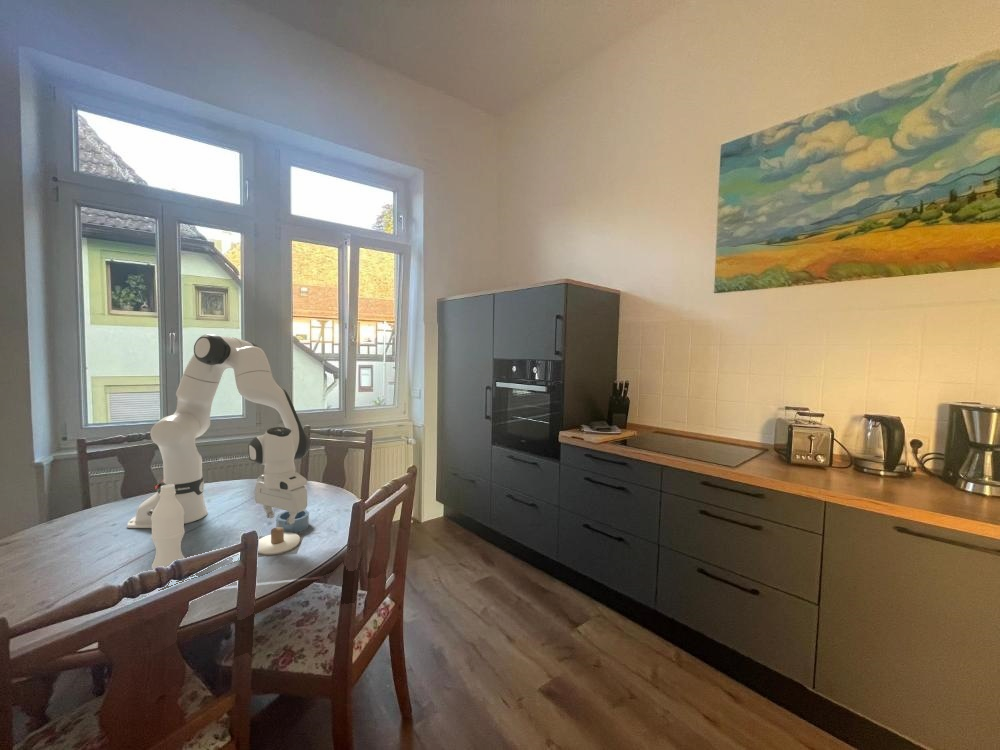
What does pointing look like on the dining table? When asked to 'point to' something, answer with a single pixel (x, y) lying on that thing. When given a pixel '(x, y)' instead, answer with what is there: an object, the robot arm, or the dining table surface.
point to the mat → (289, 550)
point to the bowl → (298, 525)
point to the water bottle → (167, 527)
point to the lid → (278, 542)
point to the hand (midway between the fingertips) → (280, 520)
